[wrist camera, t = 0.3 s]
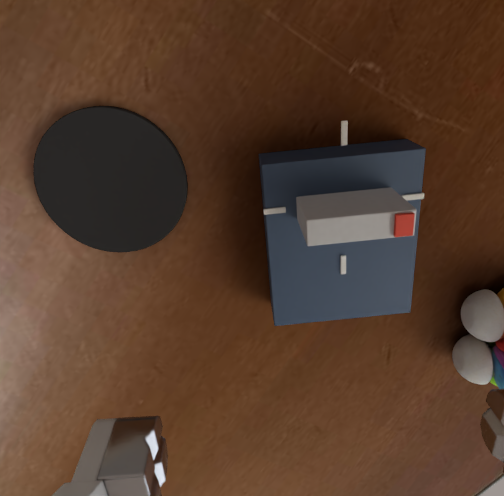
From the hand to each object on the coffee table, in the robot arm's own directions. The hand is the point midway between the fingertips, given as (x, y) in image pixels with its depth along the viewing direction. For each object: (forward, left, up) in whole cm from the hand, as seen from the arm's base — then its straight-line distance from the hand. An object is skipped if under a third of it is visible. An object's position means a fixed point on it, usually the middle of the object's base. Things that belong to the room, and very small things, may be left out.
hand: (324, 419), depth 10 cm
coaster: (-1, -10, -20) cm, 23 cm away
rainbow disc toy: (+14, +19, -20) cm, 31 cm away
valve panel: (+3, +5, -20) cm, 21 cm away
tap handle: (+1, +5, -17) cm, 18 cm away
